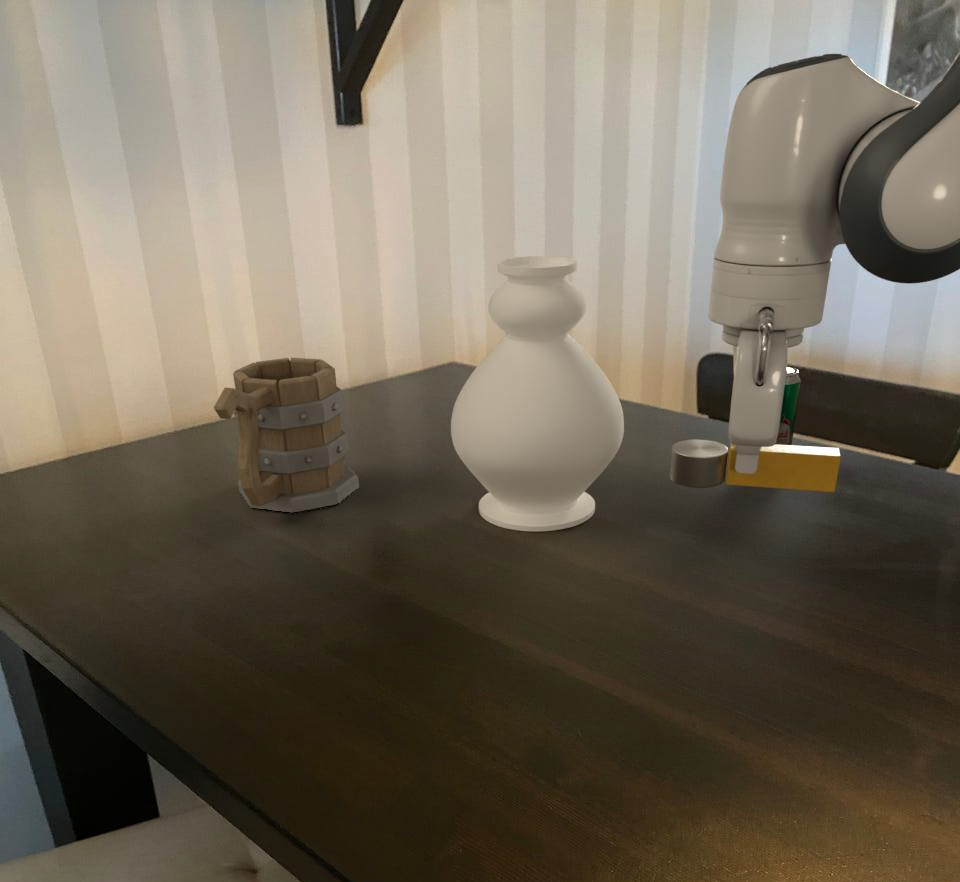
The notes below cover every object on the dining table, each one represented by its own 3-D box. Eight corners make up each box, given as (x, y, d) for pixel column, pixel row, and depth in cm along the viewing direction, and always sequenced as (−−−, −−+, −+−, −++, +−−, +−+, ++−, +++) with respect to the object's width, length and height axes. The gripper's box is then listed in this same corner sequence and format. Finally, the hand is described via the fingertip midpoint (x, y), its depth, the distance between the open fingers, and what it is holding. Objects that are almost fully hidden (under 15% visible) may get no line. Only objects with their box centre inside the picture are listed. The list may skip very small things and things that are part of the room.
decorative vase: (640, 491, 104) (654, 251, 92) (587, 553, 90) (596, 281, 78) (495, 471, 111) (490, 246, 98) (425, 527, 97) (410, 272, 85)
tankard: (279, 468, 114) (261, 343, 106) (373, 478, 110) (361, 348, 103) (183, 531, 98) (154, 389, 90) (289, 545, 94) (268, 398, 87)
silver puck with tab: (832, 478, 82) (838, 443, 80) (835, 498, 78) (842, 461, 76) (671, 467, 85) (674, 433, 84) (667, 486, 81) (670, 450, 80)
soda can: (741, 480, 106) (754, 375, 100) (741, 465, 110) (754, 363, 104) (788, 483, 105) (803, 376, 99) (786, 468, 109) (801, 364, 103)
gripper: (814, 325, 65) (786, 512, 71) (804, 276, 82) (781, 431, 89) (721, 323, 66) (702, 505, 73) (729, 275, 83) (713, 427, 90)
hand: (745, 464), depth 81 cm, fingers closed on silver puck with tab, 2 cm apart
